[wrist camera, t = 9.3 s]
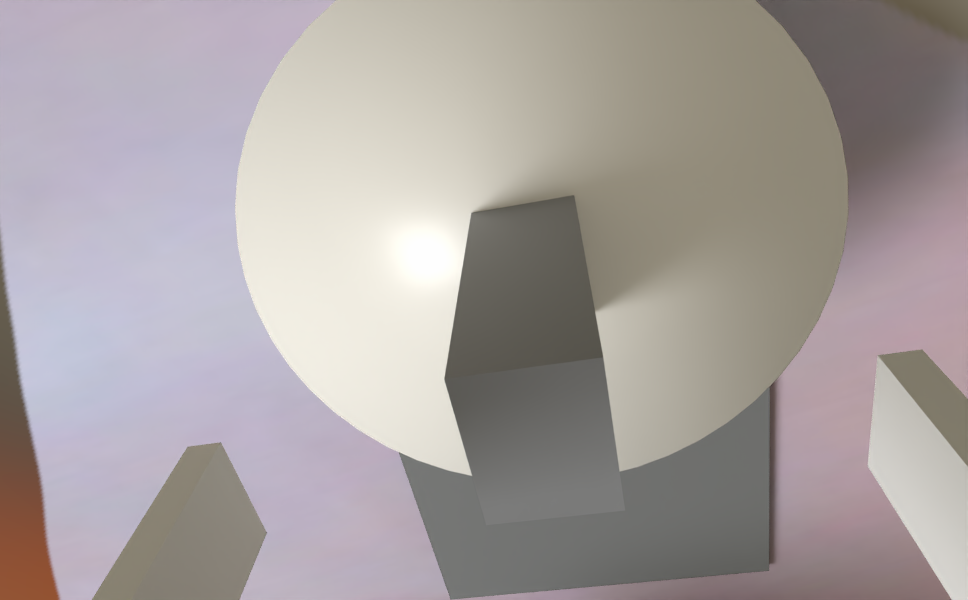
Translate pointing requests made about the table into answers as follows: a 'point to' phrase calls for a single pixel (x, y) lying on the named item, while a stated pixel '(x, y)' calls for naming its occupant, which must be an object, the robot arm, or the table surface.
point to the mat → (614, 521)
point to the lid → (541, 230)
